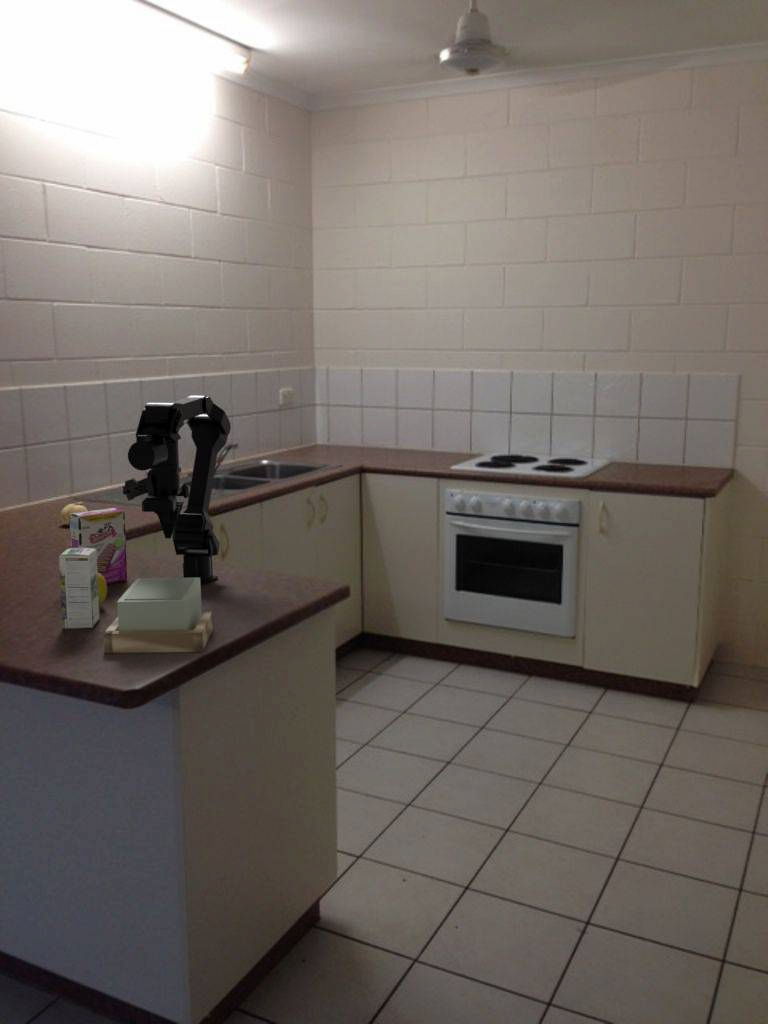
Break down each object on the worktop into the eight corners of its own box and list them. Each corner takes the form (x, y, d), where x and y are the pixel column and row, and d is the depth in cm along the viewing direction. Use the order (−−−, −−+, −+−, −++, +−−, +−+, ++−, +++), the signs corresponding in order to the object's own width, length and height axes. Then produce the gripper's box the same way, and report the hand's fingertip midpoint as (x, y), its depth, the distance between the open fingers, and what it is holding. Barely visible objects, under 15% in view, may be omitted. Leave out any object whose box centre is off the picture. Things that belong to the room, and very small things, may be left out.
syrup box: (70, 620, 179) (65, 547, 177) (101, 619, 180) (96, 547, 177) (62, 629, 174) (57, 554, 171) (94, 628, 174) (89, 553, 172)
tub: (139, 623, 178) (137, 577, 176) (202, 622, 178) (200, 576, 177) (119, 650, 162) (116, 600, 161) (188, 649, 163) (186, 599, 161)
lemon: (111, 604, 190) (108, 566, 189) (104, 611, 185) (101, 573, 183) (84, 604, 190) (81, 566, 189) (76, 612, 185) (73, 573, 183)
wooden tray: (122, 630, 173) (120, 612, 172) (212, 629, 173) (212, 611, 173) (104, 653, 161) (103, 633, 160) (202, 651, 161) (201, 632, 161)
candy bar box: (82, 590, 201) (78, 516, 198) (72, 585, 204) (67, 513, 201) (129, 580, 209) (125, 509, 205) (118, 576, 212) (114, 506, 209)
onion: (72, 529, 265) (71, 505, 264) (55, 526, 270) (53, 502, 268) (95, 524, 272) (93, 500, 271) (78, 521, 276) (76, 498, 275)
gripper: (135, 458, 198) (139, 529, 201) (113, 470, 180) (118, 548, 183) (187, 458, 198) (190, 528, 201) (171, 470, 180) (174, 547, 183)
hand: (168, 538), depth 192 cm, fingers closed
